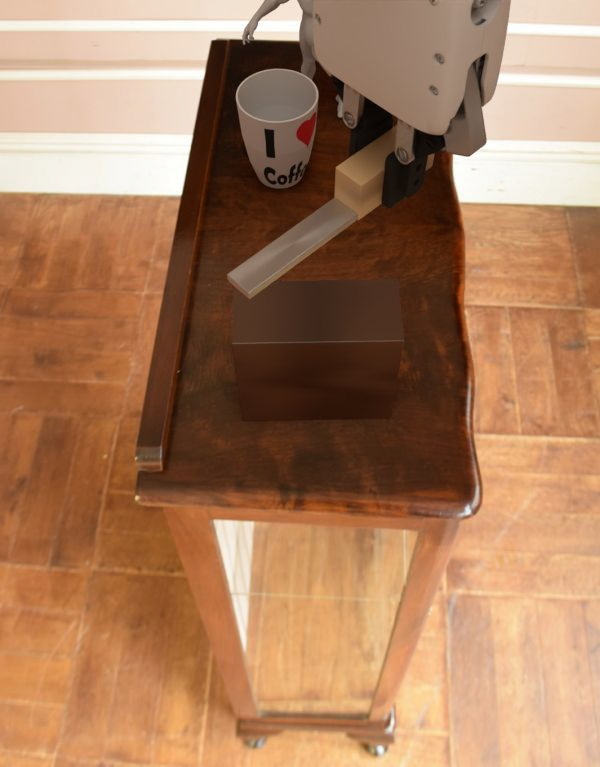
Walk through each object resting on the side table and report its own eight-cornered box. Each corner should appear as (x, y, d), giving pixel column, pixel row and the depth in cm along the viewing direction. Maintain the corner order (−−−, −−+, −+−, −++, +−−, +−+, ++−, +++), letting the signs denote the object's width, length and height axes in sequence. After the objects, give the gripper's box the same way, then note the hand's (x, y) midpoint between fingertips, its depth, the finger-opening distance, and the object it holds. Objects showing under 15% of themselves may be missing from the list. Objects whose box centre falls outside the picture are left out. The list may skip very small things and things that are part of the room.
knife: (407, 149, 52) (413, 112, 49) (432, 166, 51) (439, 129, 48) (225, 279, 46) (221, 245, 43) (250, 301, 45) (247, 267, 43)
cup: (258, 207, 82) (252, 131, 73) (232, 157, 86) (224, 80, 77) (328, 186, 83) (331, 109, 75) (300, 138, 87) (300, 60, 79)
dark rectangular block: (385, 361, 71) (398, 278, 61) (390, 418, 68) (404, 340, 58) (244, 364, 71) (233, 281, 61) (242, 421, 68) (231, 344, 58)
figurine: (245, 125, 89) (232, -29, 73) (249, 87, 92) (238, -68, 77) (402, 129, 88) (422, -26, 73) (400, 90, 92) (419, -65, 76)
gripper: (622, -89, 33) (519, 219, 48) (350, -210, 39) (337, 98, 54) (510, -17, 30) (440, 285, 46) (237, -160, 36) (258, 150, 52)
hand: (384, 181), depth 50 cm, fingers closed on knife, 2 cm apart
